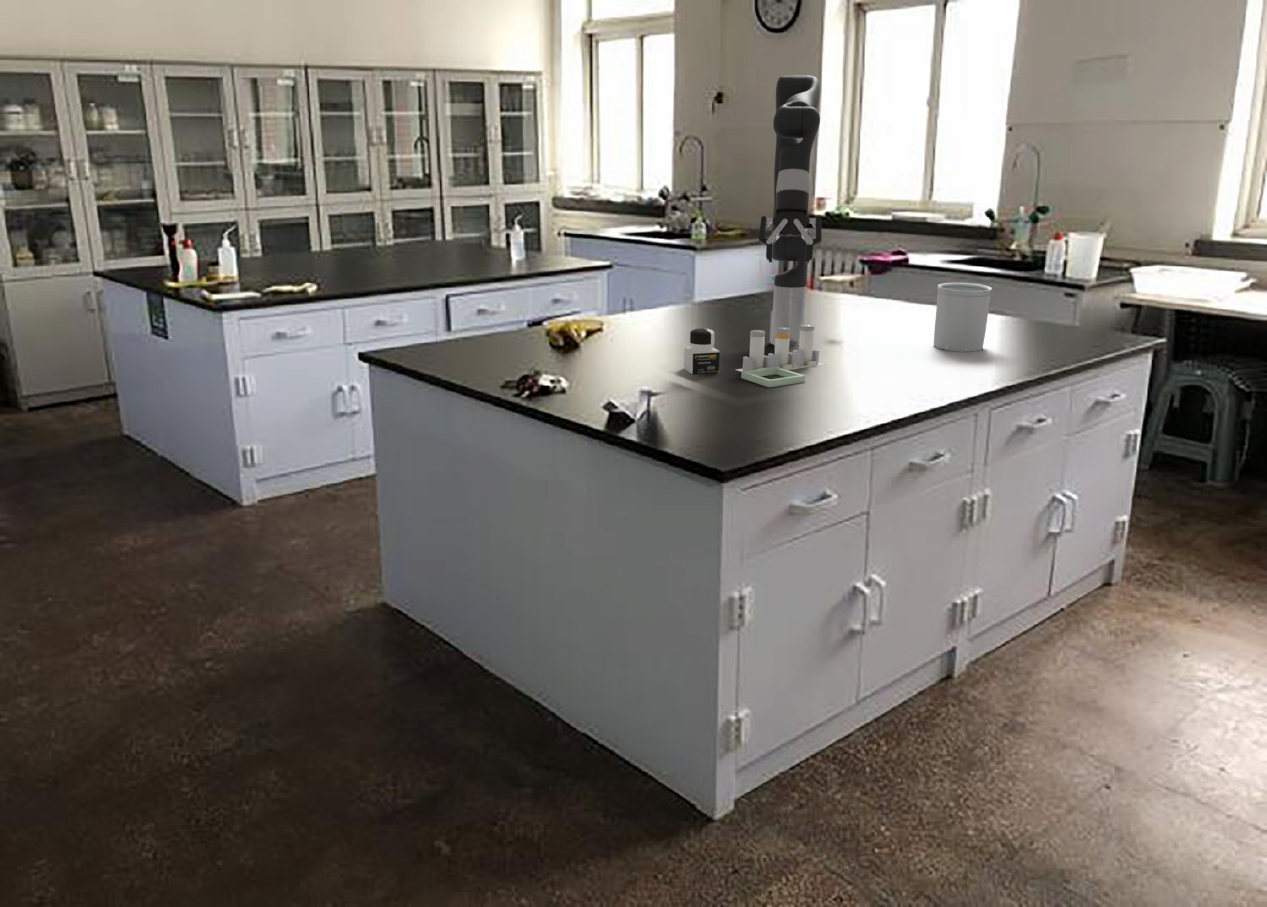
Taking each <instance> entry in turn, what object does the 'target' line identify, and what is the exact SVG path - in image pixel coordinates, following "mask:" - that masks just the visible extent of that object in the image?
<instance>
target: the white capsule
mask: <svg viewBox="0 0 1267 907" xmlns="http://www.w3.org/2000/svg"><path fill="white" fill-rule="evenodd" d="M814 339H815V324H808V323H807V324H806V323H805V324H803V325H800V340H799V345H798V351H801V352H804V364H803V365H807V362H810V361H813V360H812V359H813V349H814Z"/></svg>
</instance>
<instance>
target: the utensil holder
mask: <svg viewBox="0 0 1267 907" xmlns="http://www.w3.org/2000/svg"><path fill="white" fill-rule="evenodd" d="M992 292H993V287H991V286H988V285H985V284H980V283H973V282H972V283H970V282H944V283H939V284H938V285H937V299H936V311H935V321H934V331H933V332H934V334H933V336H934V337H933V347H935V348H937V349H939V350H943V349H944V350H943V351H950V352H958V351H959V352H960V353H966V351H968V352H967V353H970V351H973V352H979V351H981V349H982V350H983V348H984V342H985V336H986V330H987V324H988V323H987V322H988V315H989V308H990V307H989V306H990V302H991V300H990V299H991V294H992ZM978 350H979V351H978Z"/></svg>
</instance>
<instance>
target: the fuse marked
mask: <svg viewBox="0 0 1267 907" xmlns="http://www.w3.org/2000/svg"><path fill="white" fill-rule="evenodd" d="M789 340H790V328H787V327H777V328H776V330H775V346H774V354H775V355H779V356H780V359H779V368H782V369H783V365H788V360H789V352H790V346H789Z"/></svg>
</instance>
